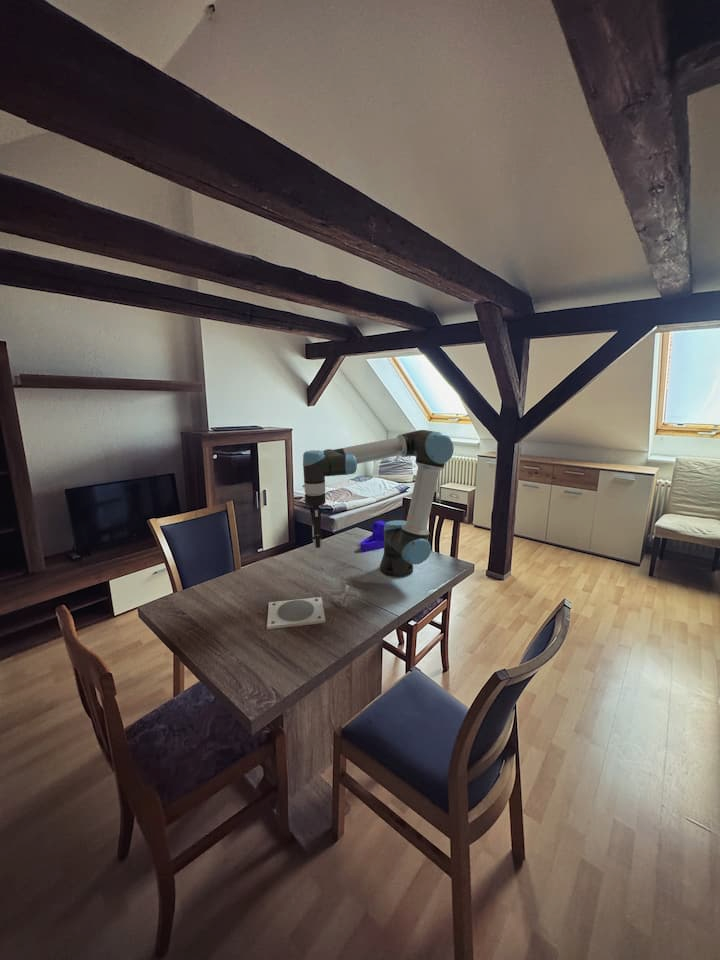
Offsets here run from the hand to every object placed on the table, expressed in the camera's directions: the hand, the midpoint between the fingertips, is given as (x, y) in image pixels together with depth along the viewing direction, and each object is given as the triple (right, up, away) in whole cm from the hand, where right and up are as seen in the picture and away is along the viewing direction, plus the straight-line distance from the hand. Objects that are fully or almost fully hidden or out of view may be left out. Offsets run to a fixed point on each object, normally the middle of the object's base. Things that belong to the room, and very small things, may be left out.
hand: (317, 547), depth 143 cm
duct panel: (-7, -23, -4) cm, 25 cm away
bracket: (+23, -10, +58) cm, 63 cm away
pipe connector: (+10, -22, +1) cm, 24 cm away
